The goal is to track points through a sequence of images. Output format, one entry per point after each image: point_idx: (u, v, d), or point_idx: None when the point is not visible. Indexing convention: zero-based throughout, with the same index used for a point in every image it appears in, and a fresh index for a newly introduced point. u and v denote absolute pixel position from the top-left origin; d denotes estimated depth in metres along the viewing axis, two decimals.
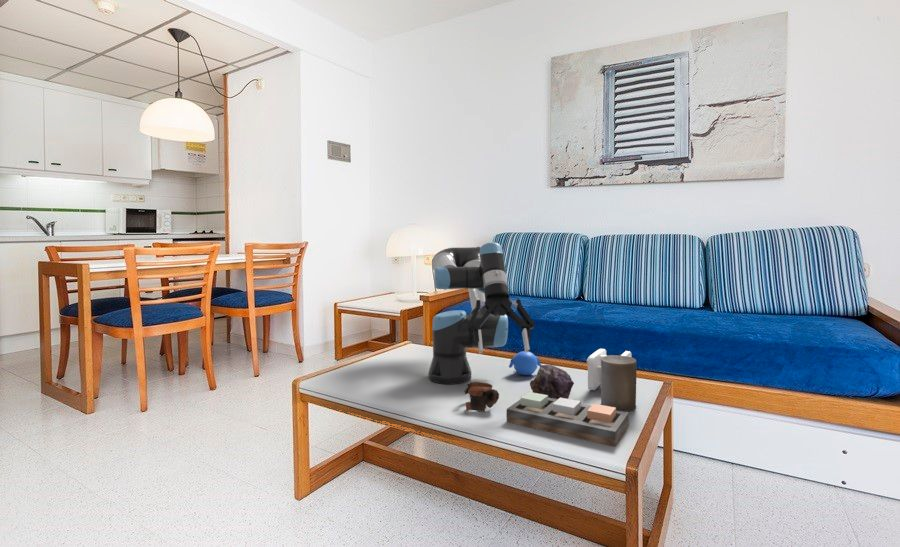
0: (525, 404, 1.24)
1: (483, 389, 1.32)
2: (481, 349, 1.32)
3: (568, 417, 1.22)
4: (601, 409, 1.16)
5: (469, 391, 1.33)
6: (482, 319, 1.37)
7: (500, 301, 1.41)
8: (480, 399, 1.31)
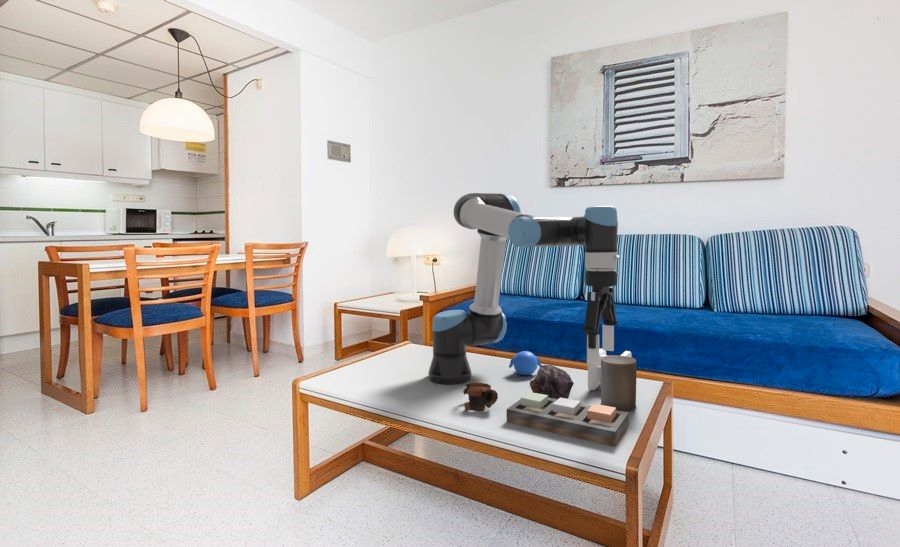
0: (525, 404, 1.24)
1: (482, 389, 1.32)
2: (598, 361, 1.09)
3: (568, 417, 1.22)
4: (601, 409, 1.16)
5: (468, 391, 1.33)
6: (599, 319, 1.09)
7: (606, 291, 1.14)
8: (479, 399, 1.31)
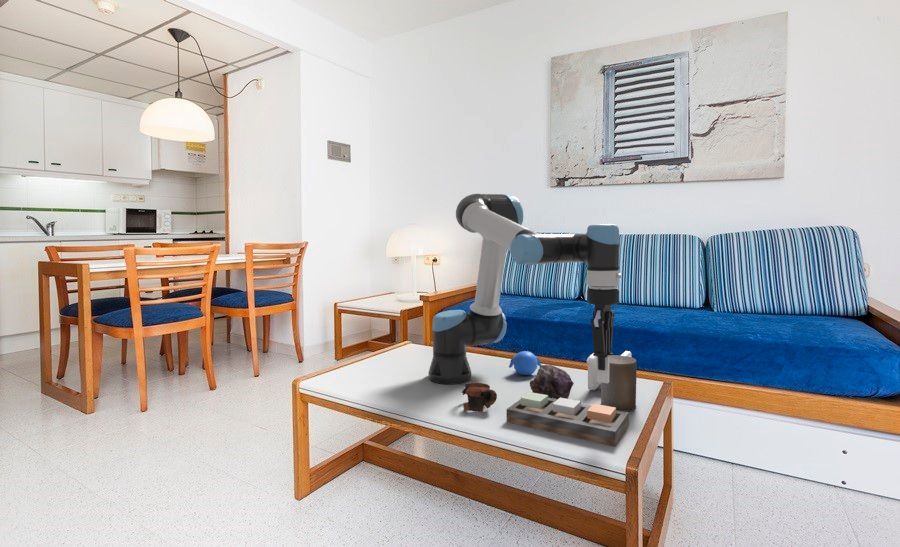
0: (525, 404, 1.24)
1: (481, 389, 1.32)
2: (608, 381, 1.14)
3: (568, 417, 1.22)
4: (601, 409, 1.16)
5: (467, 391, 1.32)
6: (606, 341, 1.13)
7: None
8: (478, 399, 1.31)
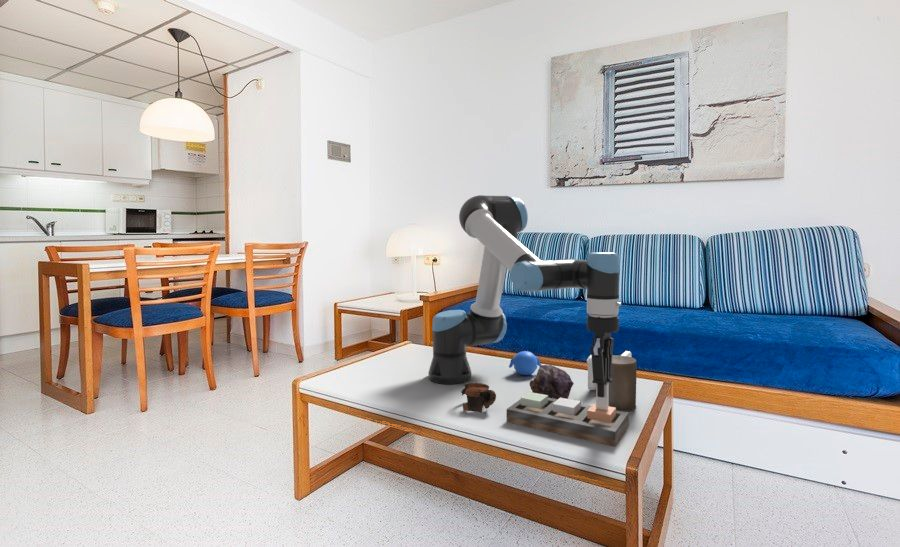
0: (525, 404, 1.24)
1: (480, 389, 1.32)
2: (607, 408, 1.15)
3: (568, 417, 1.22)
4: (601, 409, 1.16)
5: (466, 392, 1.32)
6: (605, 368, 1.13)
7: None
8: (477, 399, 1.30)
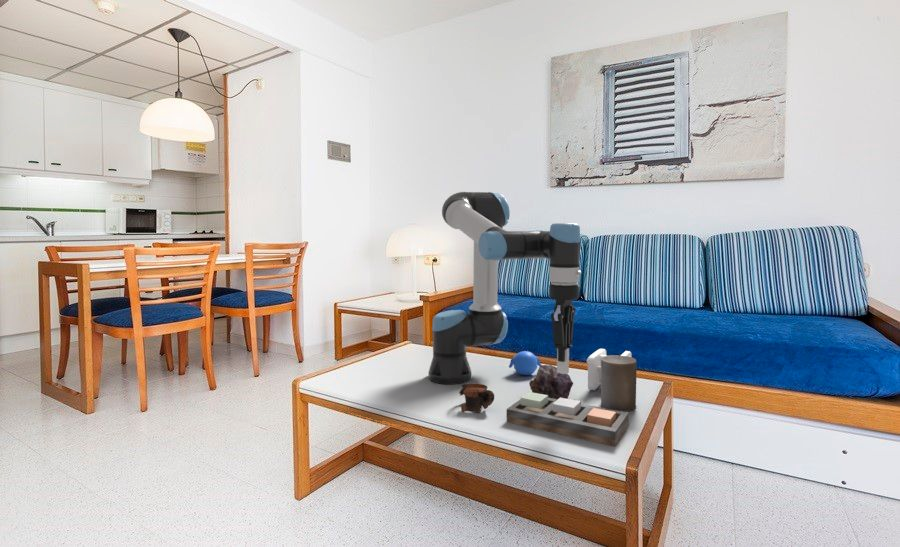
0: (525, 404, 1.24)
1: (479, 390, 1.32)
2: (567, 372, 1.20)
3: (568, 417, 1.22)
4: (601, 413, 1.16)
5: (464, 392, 1.32)
6: (566, 334, 1.19)
7: None
8: (475, 400, 1.30)
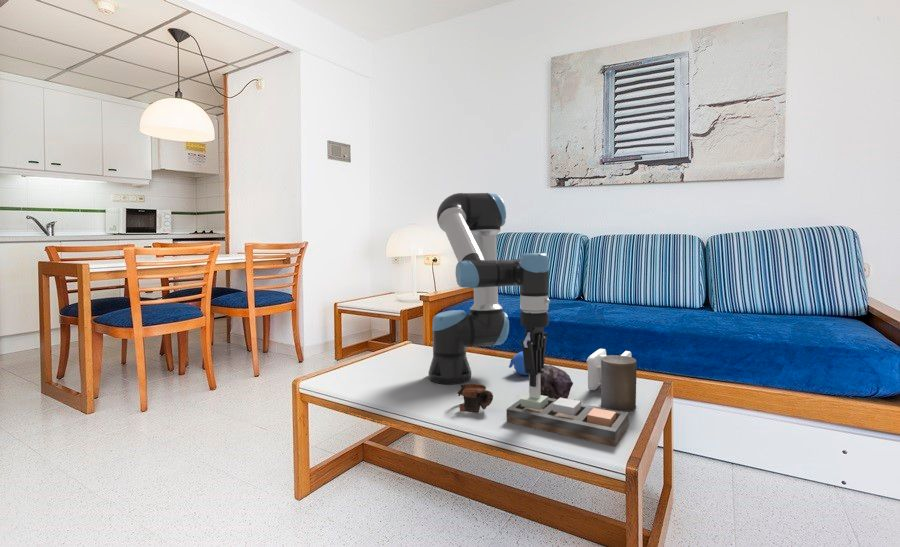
0: (525, 405, 1.24)
1: (477, 390, 1.31)
2: (538, 397, 1.24)
3: (568, 417, 1.22)
4: (601, 413, 1.16)
5: (463, 392, 1.32)
6: (536, 360, 1.23)
7: None
8: (474, 400, 1.30)
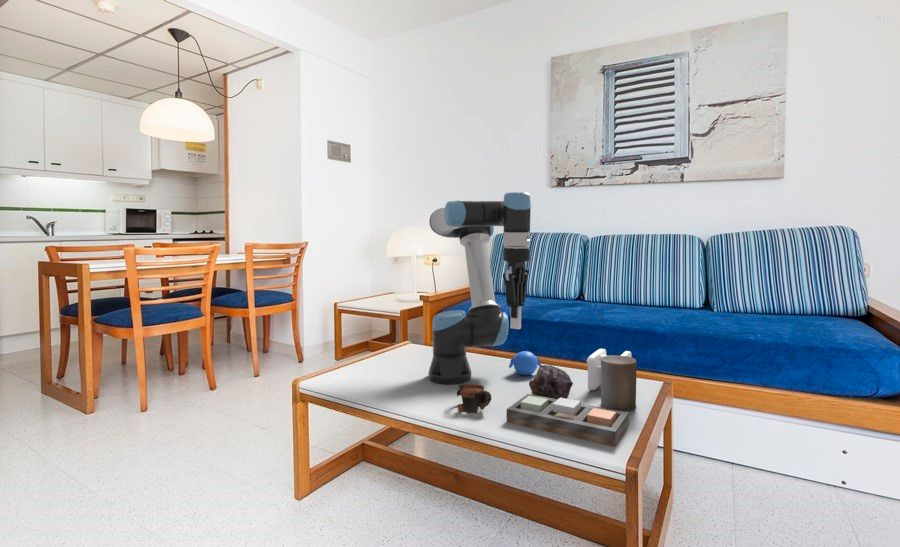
0: (525, 408, 1.24)
1: (476, 390, 1.31)
2: (519, 328, 1.34)
3: (568, 417, 1.22)
4: (601, 413, 1.16)
5: (461, 393, 1.31)
6: (518, 293, 1.32)
7: None
8: (472, 401, 1.29)
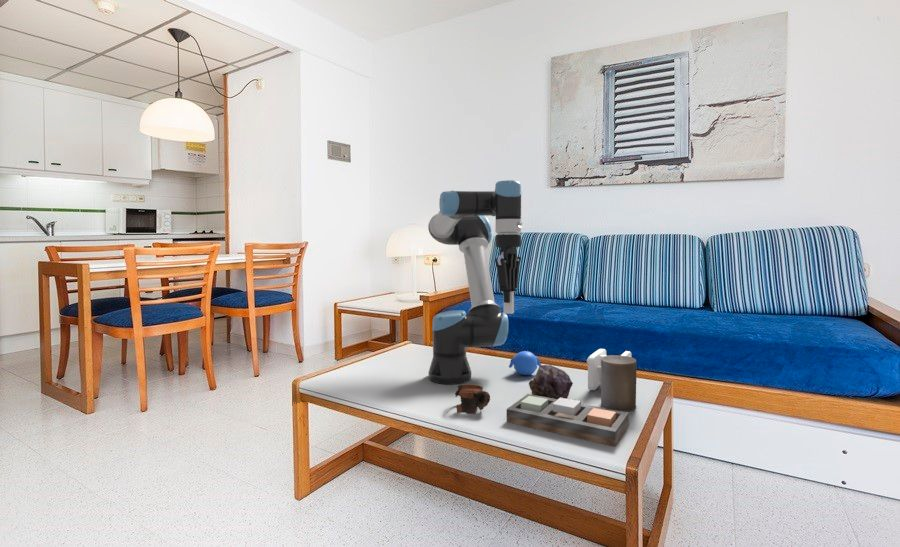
0: (525, 408, 1.24)
1: (474, 391, 1.31)
2: (512, 312, 1.37)
3: (568, 417, 1.22)
4: (601, 413, 1.16)
5: (460, 393, 1.31)
6: (510, 278, 1.36)
7: (513, 247, 1.37)
8: (471, 401, 1.29)
